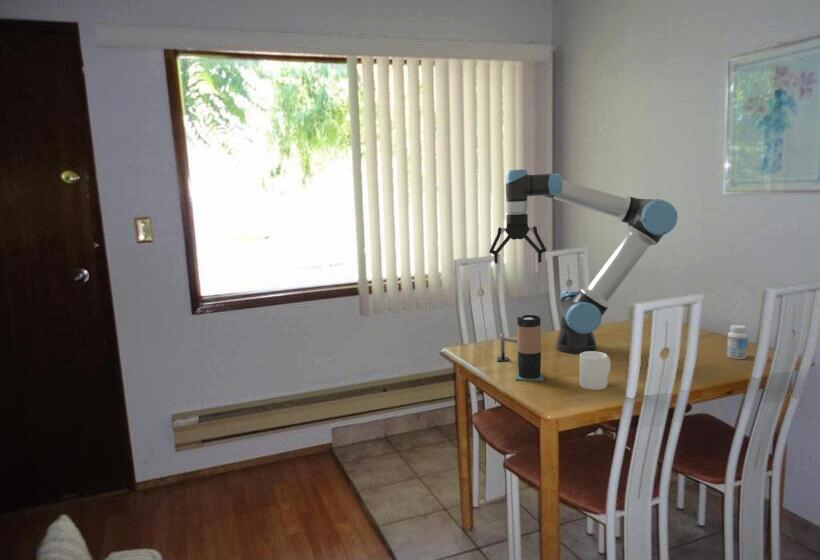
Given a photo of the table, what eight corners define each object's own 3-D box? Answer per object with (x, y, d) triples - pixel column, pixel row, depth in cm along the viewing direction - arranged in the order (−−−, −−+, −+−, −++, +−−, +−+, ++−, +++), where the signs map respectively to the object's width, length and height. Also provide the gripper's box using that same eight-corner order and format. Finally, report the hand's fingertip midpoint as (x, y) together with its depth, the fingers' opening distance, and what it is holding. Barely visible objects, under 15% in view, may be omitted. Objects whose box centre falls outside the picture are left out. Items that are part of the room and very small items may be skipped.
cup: (574, 385, 177) (574, 354, 176) (599, 377, 184) (599, 347, 182) (595, 392, 170) (595, 360, 169) (620, 383, 177) (620, 353, 175)
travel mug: (541, 379, 182) (541, 320, 179) (517, 379, 184) (516, 320, 181) (540, 372, 190) (540, 314, 186) (518, 371, 191) (517, 314, 188)
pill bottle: (745, 355, 199) (747, 324, 197) (747, 360, 194) (749, 328, 192) (726, 353, 202) (727, 323, 200) (727, 358, 196) (729, 327, 194)
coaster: (542, 374, 189) (542, 372, 189) (543, 380, 182) (543, 379, 182) (515, 373, 191) (515, 372, 191) (515, 380, 184) (515, 378, 184)
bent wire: (530, 358, 207) (529, 331, 205) (531, 372, 191) (531, 343, 190) (497, 358, 209) (497, 331, 207) (496, 372, 194) (495, 343, 192)
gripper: (552, 211, 201) (552, 269, 204) (482, 214, 205) (483, 271, 208) (553, 212, 193) (553, 272, 197) (481, 215, 198) (482, 274, 201)
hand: (517, 272), depth 203 cm, fingers open, 13 cm apart
